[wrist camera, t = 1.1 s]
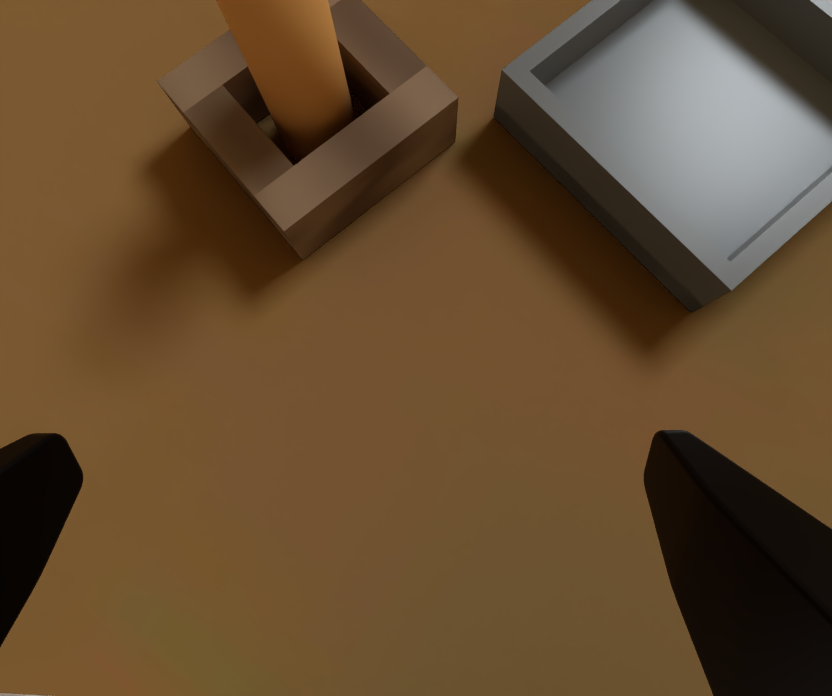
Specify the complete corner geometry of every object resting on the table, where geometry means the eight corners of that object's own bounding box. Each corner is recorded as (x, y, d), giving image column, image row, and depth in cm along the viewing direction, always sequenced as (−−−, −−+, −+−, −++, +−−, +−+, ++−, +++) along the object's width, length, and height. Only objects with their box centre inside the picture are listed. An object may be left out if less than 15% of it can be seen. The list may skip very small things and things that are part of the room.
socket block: (303, 260, 23) (283, 231, 20) (189, 126, 24) (156, 81, 22) (455, 141, 24) (458, 97, 21) (336, 19, 25) (324, -37, 23)
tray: (691, 312, 22) (731, 290, 19) (493, 116, 24) (501, 69, 21) (887, 138, 23) (953, 92, 20) (683, -32, 25) (715, -95, 22)
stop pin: (314, 181, 24) (230, -13, 14) (269, 131, 24) (159, -89, 15) (372, 136, 24) (331, -82, 14) (327, 88, 25) (257, -153, 15)
